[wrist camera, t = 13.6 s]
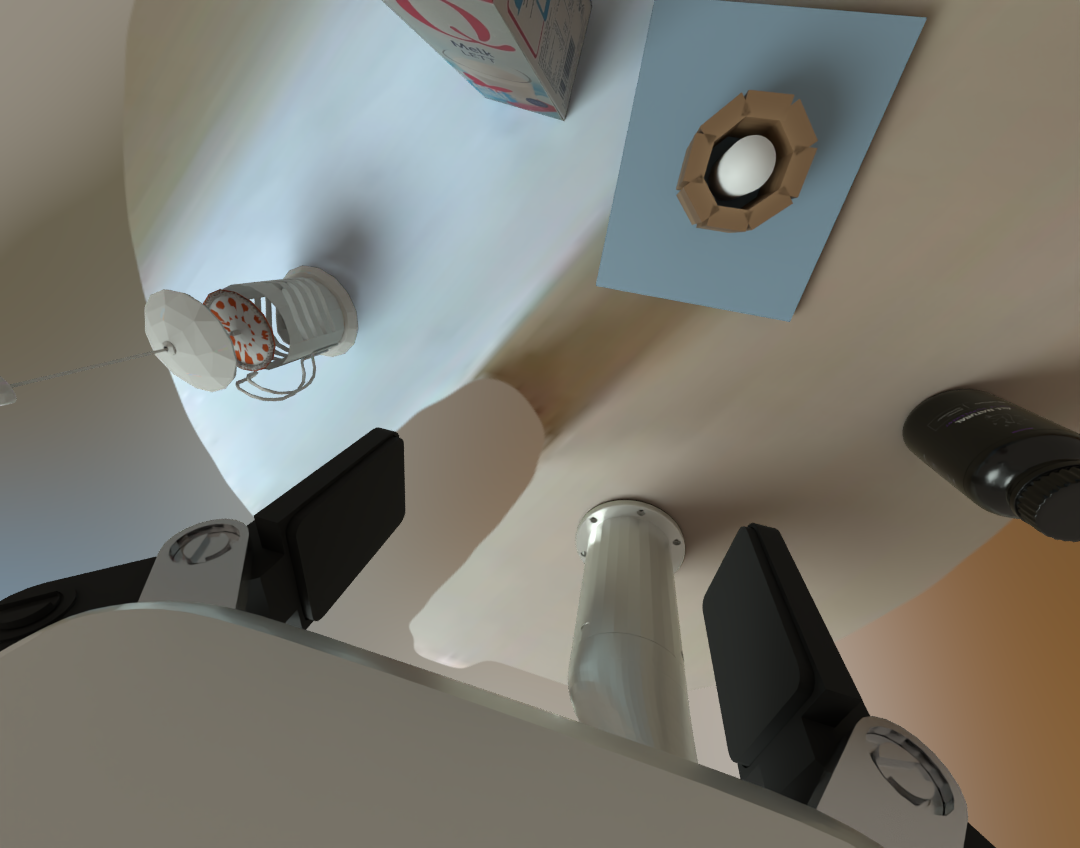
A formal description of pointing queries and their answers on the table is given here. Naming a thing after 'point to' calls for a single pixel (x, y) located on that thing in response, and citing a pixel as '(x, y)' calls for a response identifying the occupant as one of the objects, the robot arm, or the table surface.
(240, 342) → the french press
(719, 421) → the table surface
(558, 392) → the table surface
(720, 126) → the walnut ring
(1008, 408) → the supplement bottle
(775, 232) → the post board
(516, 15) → the juice carton
